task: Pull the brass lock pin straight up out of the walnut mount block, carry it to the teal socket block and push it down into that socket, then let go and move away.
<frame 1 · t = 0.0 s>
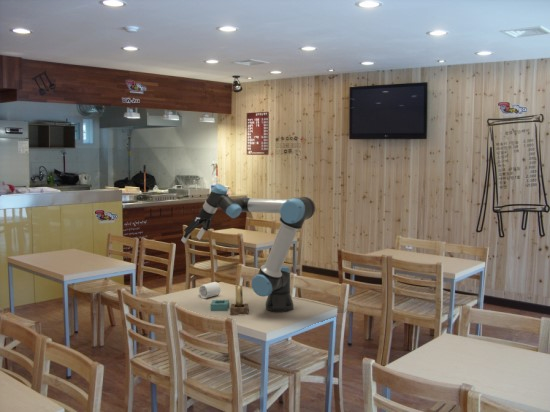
hand: (190, 240, 317), 36 cm above the table, tool tilted 35°, fingers open, 13 cm apart
socket block: (220, 308, 310), on the table
pin: (239, 299, 302), in the mount block
mount block: (239, 312, 302), on the table
mug: (207, 296, 337), on the table
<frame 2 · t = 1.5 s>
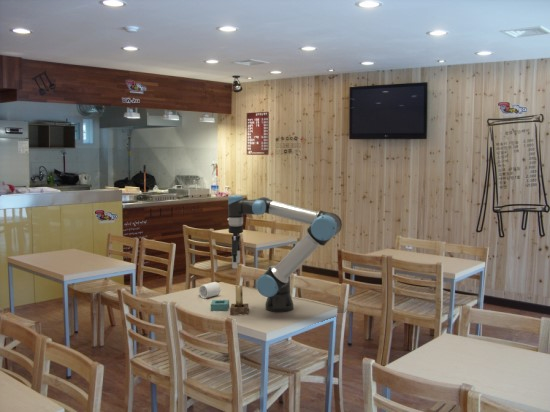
hand: (236, 265, 300), 25 cm above the table, tool pointing down, fingers open, 13 cm apart
nothing on the table moved.
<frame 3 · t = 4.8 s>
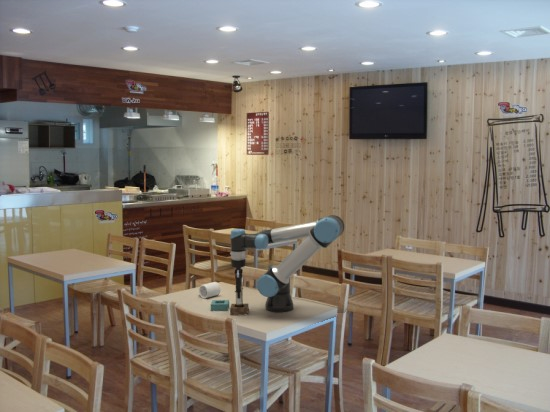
hand: (239, 302, 302), 5 cm above the table, tool pointing down, fingers closed on pin, 3 cm apart
pin: (239, 299, 301), in the mount block, touching gripper
everything else where it was.
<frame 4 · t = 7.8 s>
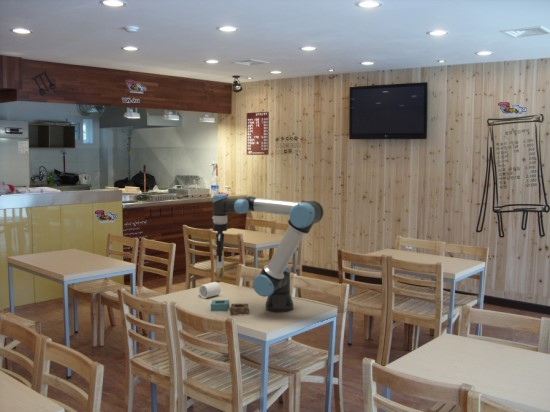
hand: (220, 266, 307), 23 cm above the table, tool pointing down, fingers closed on pin, 3 cm apart
pin: (220, 263, 307), point 25 cm above the table, touching gripper
everything else where it was.
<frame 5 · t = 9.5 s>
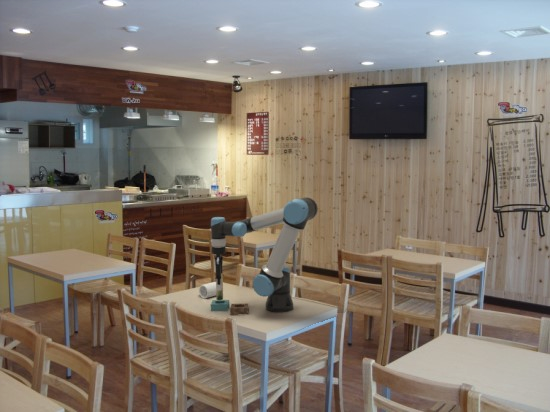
hand: (219, 289, 309), 11 cm above the table, tool pointing down, fingers closed on pin, 3 cm apart
pin: (219, 286, 309), point 12 cm above the table, touching gripper
everything else where it was.
when the fingers open (7 cm above the table, at t = 10.9 s): pin drops 1 cm, resting in socket block.
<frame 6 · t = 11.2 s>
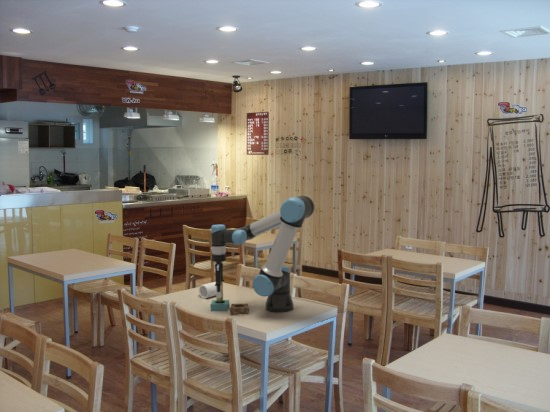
hand: (219, 295, 310), 7 cm above the table, tool pointing down, fingers open, 7 cm apart
pin: (219, 295, 310), in the socket block
everything else where it was.
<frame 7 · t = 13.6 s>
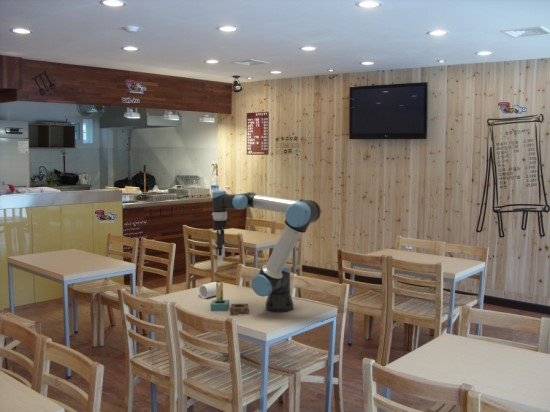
hand: (221, 259, 308), 27 cm above the table, tool pointing down, fingers open, 13 cm apart
nothing on the table moved.
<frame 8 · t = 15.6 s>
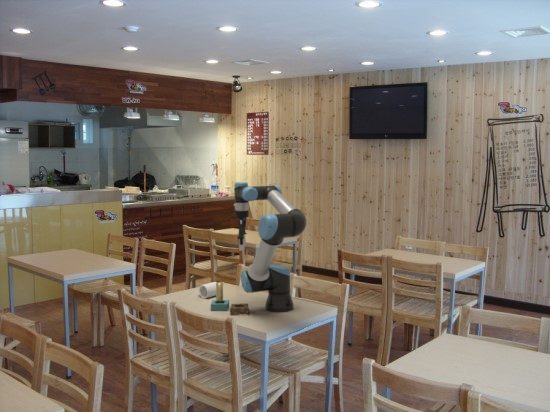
hand: (242, 248, 318), 31 cm above the table, tool pointing down, fingers open, 13 cm apart
nothing on the table moved.
at the end: pin 0.0 cm off-centre on the socket block, point 7.0 cm above the socket block's base; pin tilted 0°; the gripper is holding nothing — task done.
